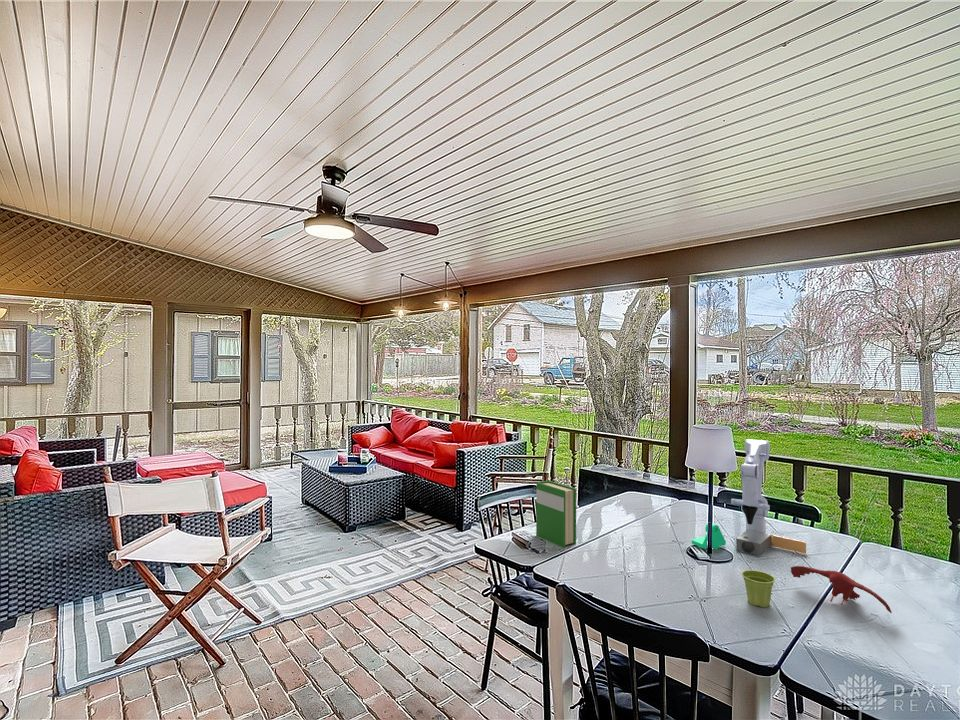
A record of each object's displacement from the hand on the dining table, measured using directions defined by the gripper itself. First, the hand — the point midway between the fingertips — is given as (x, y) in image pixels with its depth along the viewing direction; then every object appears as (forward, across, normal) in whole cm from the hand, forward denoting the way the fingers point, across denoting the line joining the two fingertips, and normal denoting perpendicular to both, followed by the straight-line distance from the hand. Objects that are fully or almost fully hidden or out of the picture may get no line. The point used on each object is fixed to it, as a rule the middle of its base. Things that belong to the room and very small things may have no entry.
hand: (750, 523), depth 205 cm
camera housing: (+9, +2, -2) cm, 10 cm away
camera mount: (+10, -13, -14) cm, 21 cm away
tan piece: (+9, +13, +5) cm, 17 cm away
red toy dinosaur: (+10, +36, -35) cm, 51 cm away
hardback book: (+10, -63, -54) cm, 84 cm away
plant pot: (+10, +17, -54) cm, 57 cm away
